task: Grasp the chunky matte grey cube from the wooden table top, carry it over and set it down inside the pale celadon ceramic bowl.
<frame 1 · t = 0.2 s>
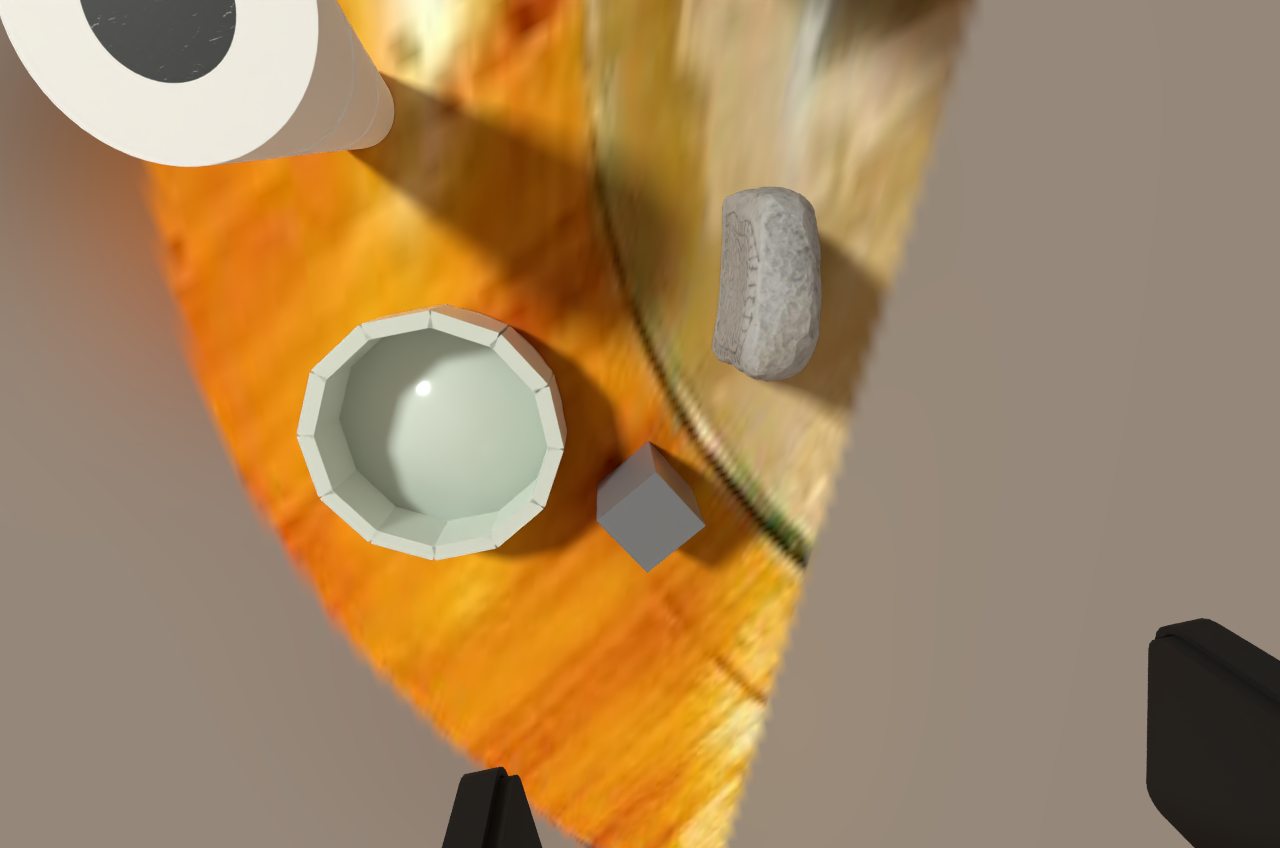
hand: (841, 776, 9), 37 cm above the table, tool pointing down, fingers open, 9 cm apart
bowl: (450, 420, 45), on the table
cup: (355, 107, 39), on the table
matte grey cube: (645, 486, 47), on the table
decorative stone: (744, 277, 44), on the table
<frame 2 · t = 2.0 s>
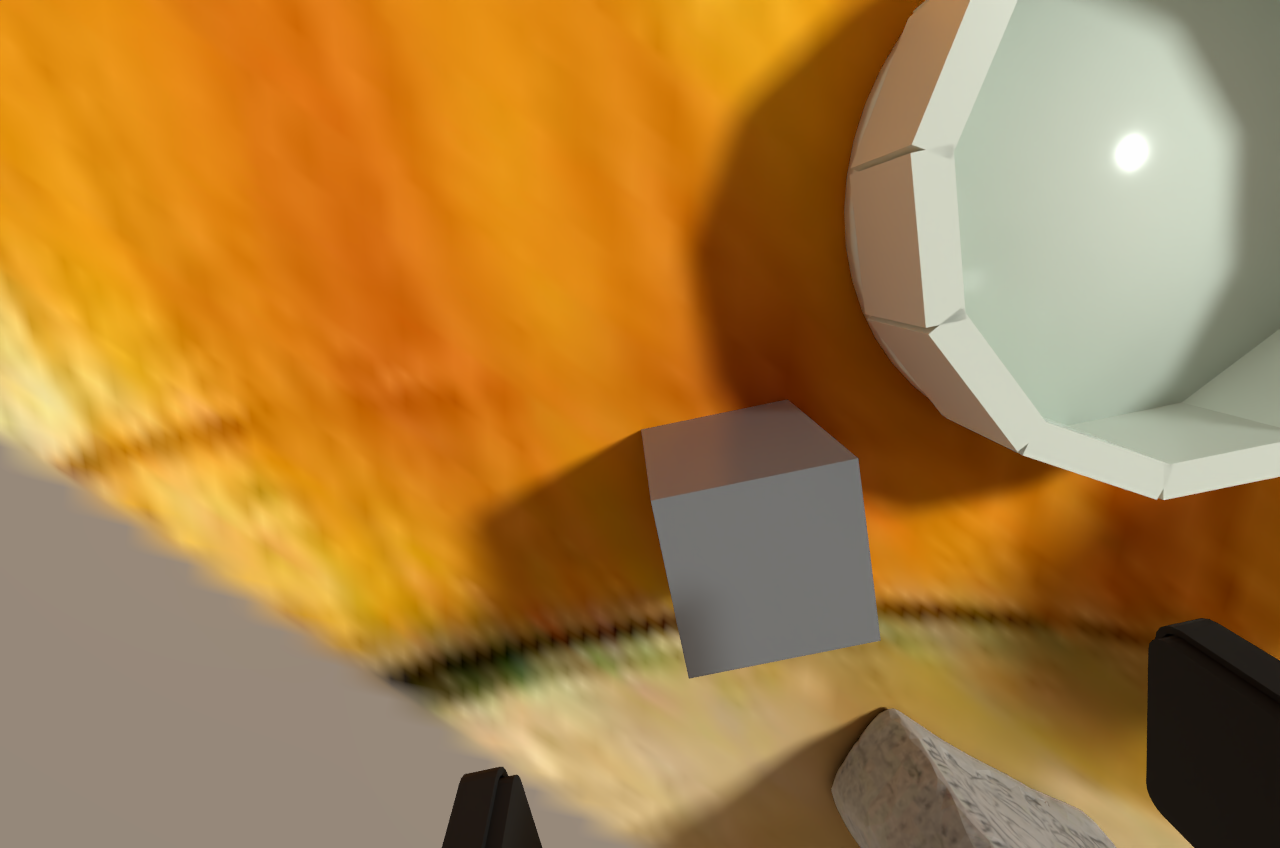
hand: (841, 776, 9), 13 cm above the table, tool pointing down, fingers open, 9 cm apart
bowl: (1097, 193, 20), on the table
matte grey cube: (726, 483, 22), on the table
decorative stone: (956, 787, 26), on the table
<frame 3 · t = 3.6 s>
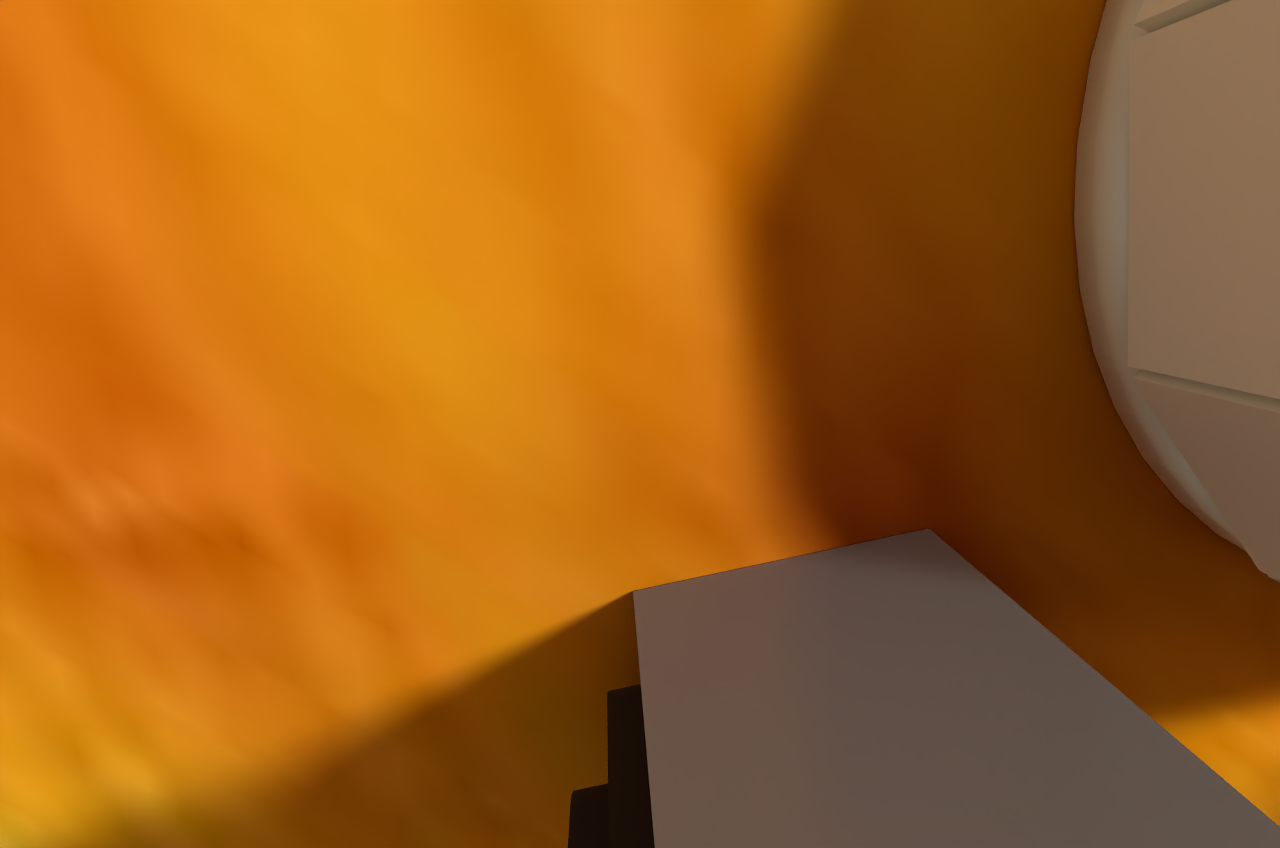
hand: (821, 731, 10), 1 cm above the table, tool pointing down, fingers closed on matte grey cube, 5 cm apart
matte grey cube: (800, 685, 11), on the table, touching gripper
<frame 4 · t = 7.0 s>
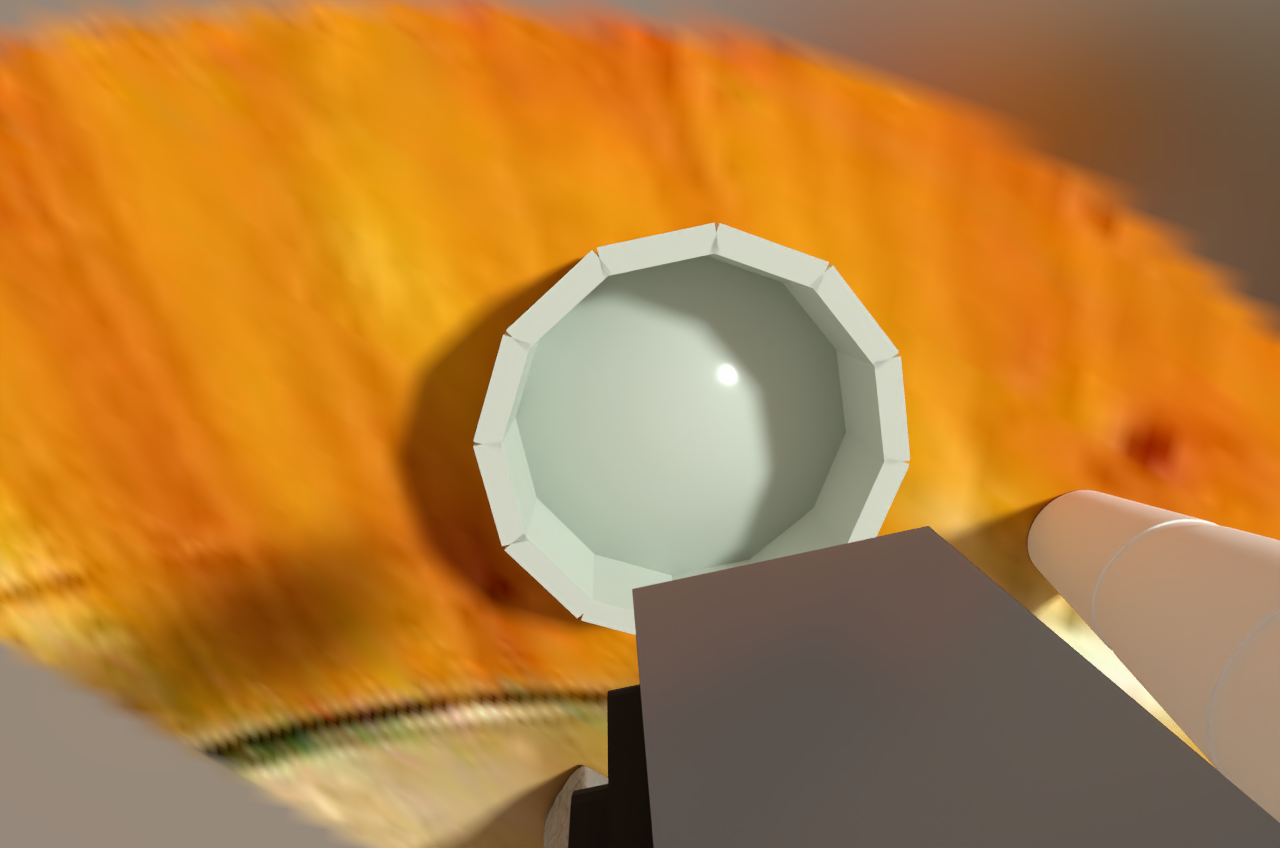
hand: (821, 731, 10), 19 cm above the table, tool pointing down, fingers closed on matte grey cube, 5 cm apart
bowl: (681, 419, 29), on the table
cup: (1072, 533, 32), on the table
matte grey cube: (800, 683, 11), point 18 cm above the table, touching gripper
decorative stone: (646, 820, 35), on the table
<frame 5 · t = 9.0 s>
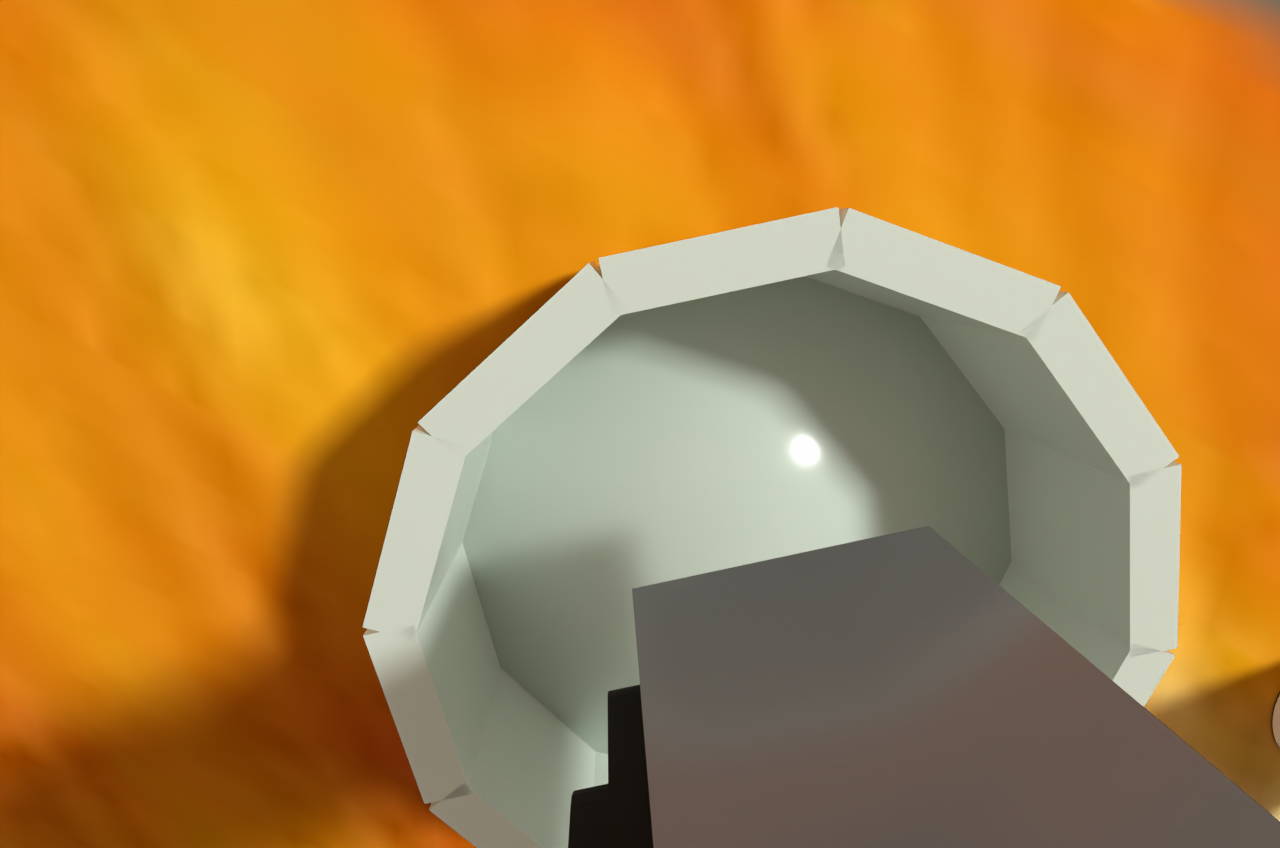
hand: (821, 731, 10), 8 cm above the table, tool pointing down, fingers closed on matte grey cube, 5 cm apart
bowl: (736, 535, 18), on the table
matte grey cube: (800, 683, 11), point 7 cm above the table, touching gripper
when the fingers open (4 cm above the table, at t = 10.5 s): matte grey cube drops 2 cm, resting on bowl.
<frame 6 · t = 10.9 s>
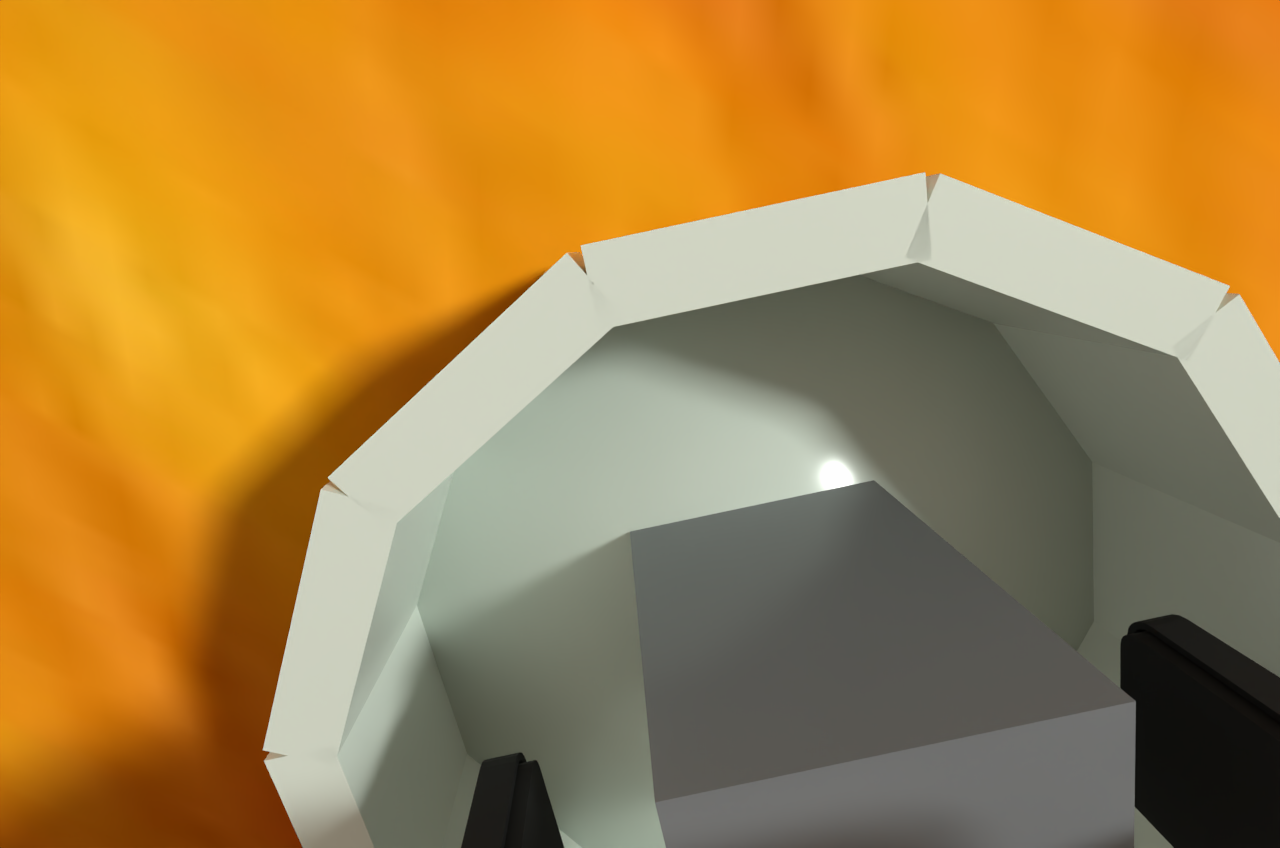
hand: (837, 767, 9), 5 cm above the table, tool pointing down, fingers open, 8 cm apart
bowl: (756, 589, 14), on the table
matte grey cube: (769, 613, 13), point 1 cm above the table, touching bowl
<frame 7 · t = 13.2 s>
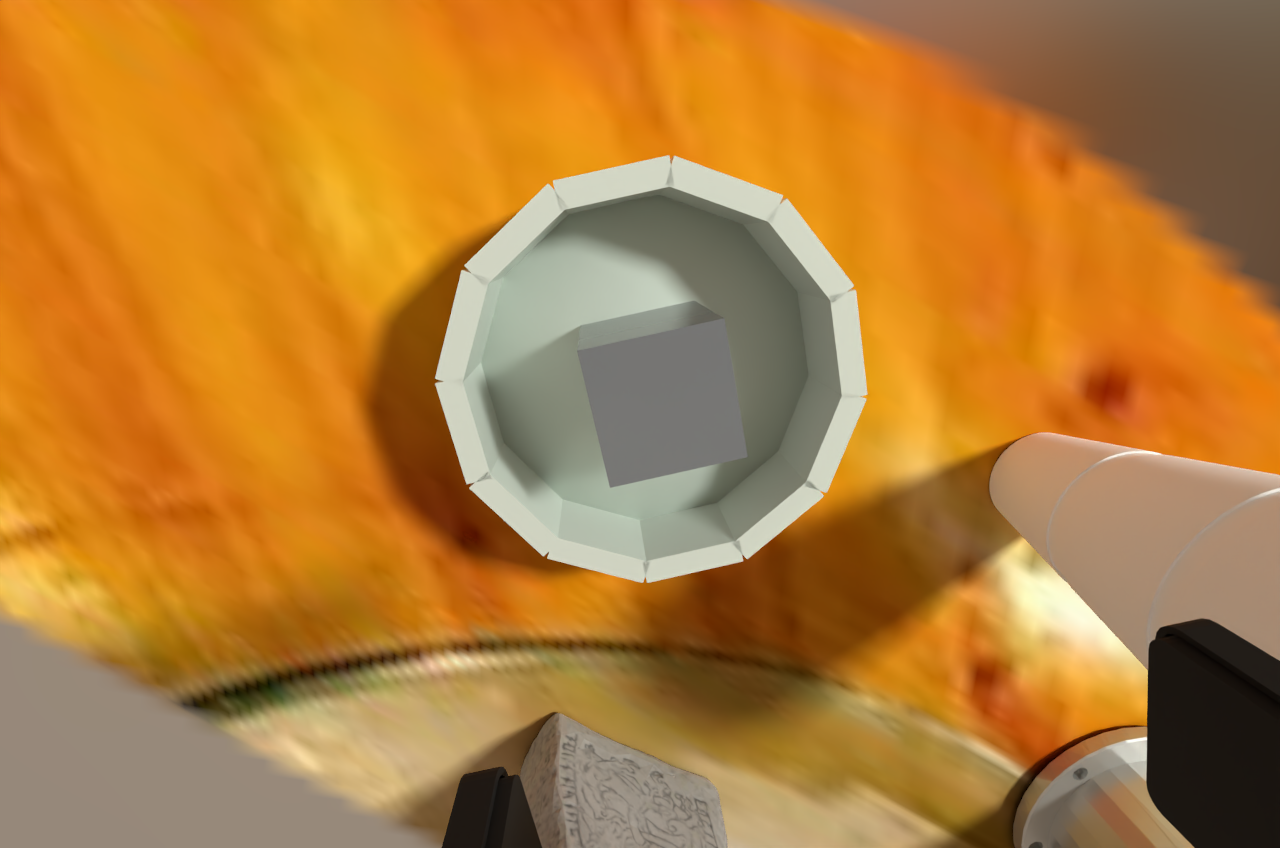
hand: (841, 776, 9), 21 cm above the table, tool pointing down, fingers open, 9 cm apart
bowl: (646, 364, 29), on the table
cup: (1032, 476, 32), on the table
matte grey cube: (649, 368, 28), point 1 cm above the table, touching bowl
decorative stone: (621, 767, 35), on the table
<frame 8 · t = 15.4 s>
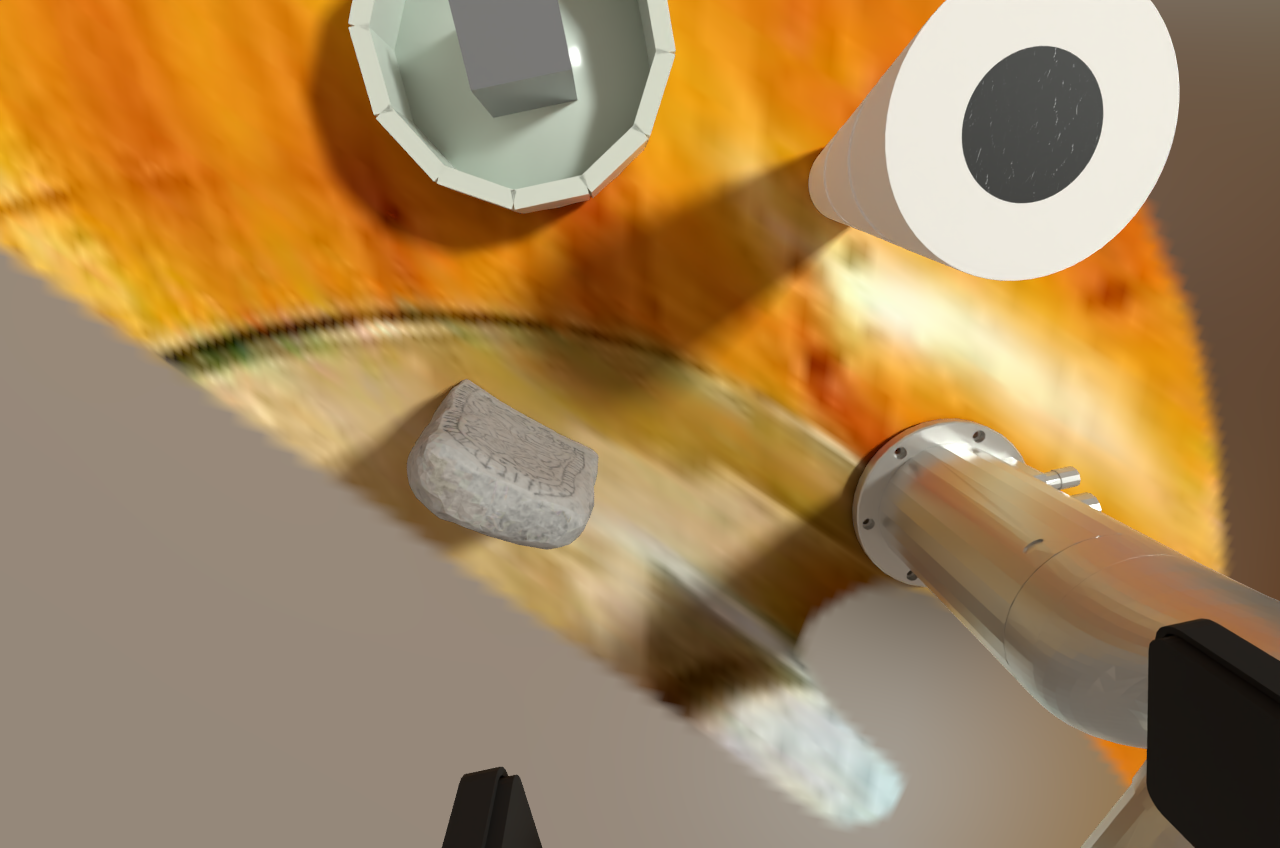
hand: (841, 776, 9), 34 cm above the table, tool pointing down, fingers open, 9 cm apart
bowl: (526, 66, 37), on the table
cup: (845, 181, 40), on the table
matte grey cube: (524, 61, 36), point 1 cm above the table, touching bowl
decorative stone: (520, 438, 43), on the table
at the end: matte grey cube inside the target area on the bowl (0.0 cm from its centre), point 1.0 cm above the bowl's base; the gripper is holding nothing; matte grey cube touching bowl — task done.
